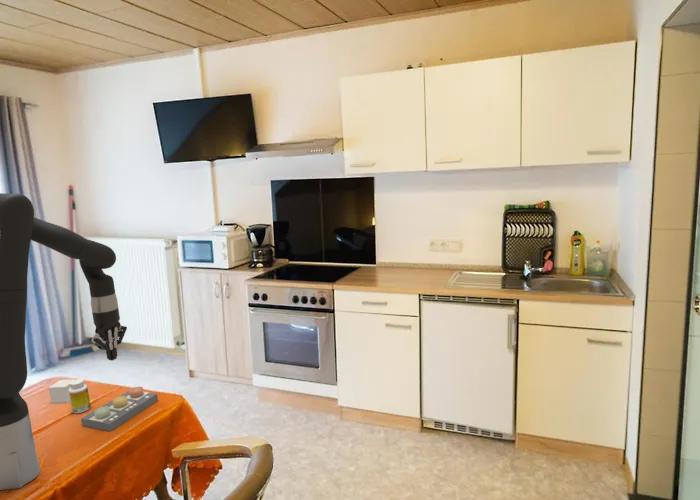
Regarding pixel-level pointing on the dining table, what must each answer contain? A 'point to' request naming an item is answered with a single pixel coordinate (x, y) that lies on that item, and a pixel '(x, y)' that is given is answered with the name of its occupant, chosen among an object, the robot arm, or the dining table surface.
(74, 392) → the supplement bottle
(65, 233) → the robot arm
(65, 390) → the off-white cube
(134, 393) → the terracotta button
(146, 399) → the button panel
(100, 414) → the sage button
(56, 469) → the dining table surface
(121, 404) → the ochre button
